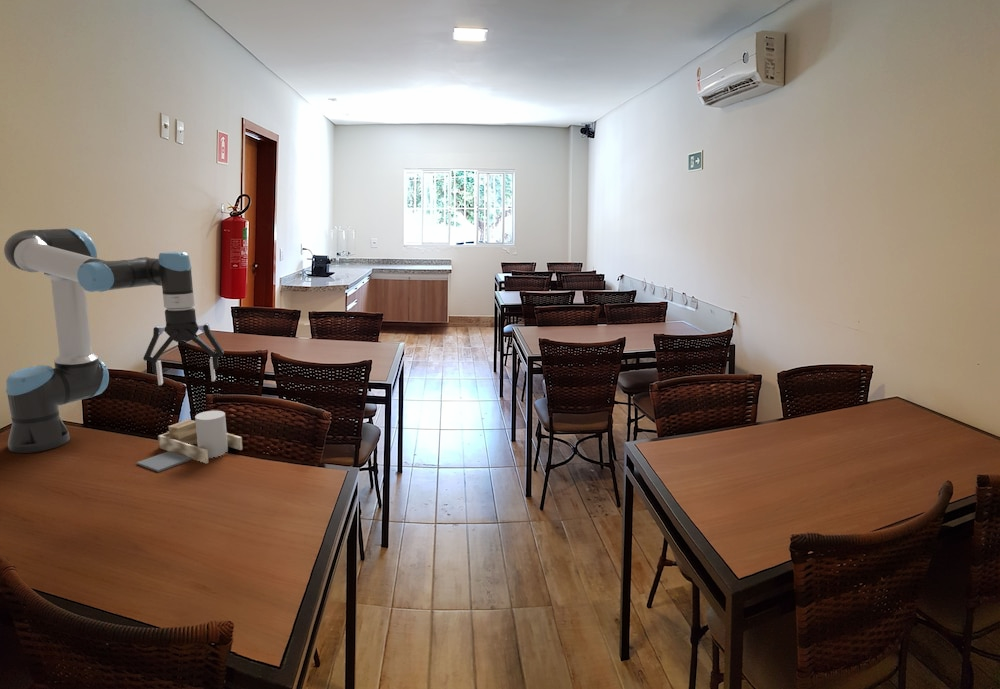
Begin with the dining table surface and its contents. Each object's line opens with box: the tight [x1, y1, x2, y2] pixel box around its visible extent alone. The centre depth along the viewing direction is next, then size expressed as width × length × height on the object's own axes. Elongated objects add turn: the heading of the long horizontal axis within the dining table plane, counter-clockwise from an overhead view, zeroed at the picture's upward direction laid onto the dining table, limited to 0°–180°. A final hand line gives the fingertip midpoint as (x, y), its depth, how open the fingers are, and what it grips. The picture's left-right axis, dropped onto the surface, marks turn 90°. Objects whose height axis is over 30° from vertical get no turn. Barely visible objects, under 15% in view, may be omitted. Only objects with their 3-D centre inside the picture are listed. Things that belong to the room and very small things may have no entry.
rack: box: [157, 431, 243, 464], centre depth 189 cm, size 22×13×4 cm, turn 62°
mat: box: [136, 451, 192, 473], centre depth 179 cm, size 10×10×1 cm
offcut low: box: [169, 433, 197, 445], centre depth 193 cm, size 4×9×4 cm, turn 151°
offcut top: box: [168, 419, 196, 439], centre depth 192 cm, size 4×7×4 cm, turn 157°
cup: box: [194, 410, 229, 459], centre depth 186 cm, size 8×8×12 cm
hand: (187, 382), depth 176 cm, fingers open, 13 cm apart
